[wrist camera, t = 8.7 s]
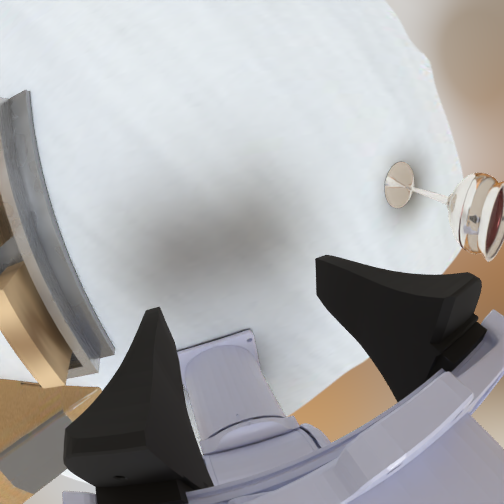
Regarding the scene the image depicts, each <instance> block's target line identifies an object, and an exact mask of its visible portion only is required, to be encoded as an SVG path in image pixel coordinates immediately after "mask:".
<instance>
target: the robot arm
mask: <svg viewBox="0 0 504 504" xmlns="http://www.w3.org/2000/svg"><path fill="white" fill-rule="evenodd" d="M315 260H316V293H317V296H318V298H319V299H320V300H321V302H322V303H323V305H324V306H325V307H326V309H327V310H328V311H329V312H330V313H331V314H332V315H333V316H334V317H335V318H336V319H337V321H338V322H339V323H340V324H341V325H342V326H343V327H344V328H345V329H346V330H347V331H348V332H349V333H350V334H351V335H352V336H353V337H354V338H355V339H356V340H357V341H358V342H359V344H360V345H361V346H362V347H363V349H364V350H365V351H366V353H367V354H368V355H369V357H370V358H371V359H372V361H373V362H374V364H375V365H376V367H377V368H378V370H379V371H380V373H381V374H382V375H383V377H384V379H385V381H386V382H387V384H388V385H389V387H390V389H391V391H392V392H393V395H394V396H395V398H396V400H397V402H398V403H397V404H395V405H394V406H392V407H391V408H389V409H388V410H386V411H385V412H383V413H382V414H380V415H379V416H377V417H376V418H374V419H372V420H371V421H369V422H368V423H366V424H364V425H363V426H361V427H359V428H357V429H356V430H354V431H352V432H350V433H349V434H347V435H345V436H343V437H341V438H340V439H338V440H336V441H334V442H332V443H331V442H330V441H329V439H328V438H327V437H326V435H325V434H324V433H323V432H322V431H321V430H319V429H318V428H315V427H313V426H312V425H310V424H306V423H305V424H302V425H299V424H298V422H297V421H296V419H295V417H294V416H290V417H286V416H285V414H284V412H283V410H282V409H281V407H280V405H279V403H278V401H277V400H276V398H275V396H274V394H273V392H272V390H271V389H270V387H269V385H268V383H267V381H266V379H265V377H264V376H263V374H262V372H261V368H260V363H259V358H258V353H257V348H256V344H255V339H254V334H253V332H252V331H251V330H246V331H243V332H240V333H237V334H234V335H231V336H228V337H225V338H222V339H219V340H215V341H212V342H209V343H206V344H202V345H199V346H196V347H192V348H189V349H185V350H182V351H178V352H177V350H176V346H175V342H174V340H173V337H172V335H171V333H170V331H169V328H168V326H167V323H166V321H165V319H164V316H163V314H162V311H161V309H160V307H157V308H153V309H150V310H146V312H145V314H144V316H143V319H142V321H141V323H140V326H139V328H138V331H137V333H136V335H135V337H134V340H133V342H132V344H131V346H130V348H129V350H128V352H127V354H126V356H125V358H124V360H123V362H122V364H121V365H120V367H119V369H118V370H117V372H116V373H115V375H114V376H113V378H112V379H111V380H110V382H109V383H108V384H107V386H106V387H105V388H104V390H103V391H102V392H101V394H100V395H99V396H98V397H97V398H96V399H95V401H94V402H93V403H92V404H91V405H90V406H89V407H88V408H87V409H86V410H85V411H84V412H83V413H82V414H81V415H80V416H79V417H78V418H77V419H75V420H74V421H73V422H72V423H71V424H70V425H69V426H67V427H66V428H65V435H64V451H63V462H64V465H65V466H66V467H67V468H68V470H70V471H71V472H72V473H73V474H75V475H76V476H78V477H80V478H81V479H83V480H85V481H86V482H88V483H90V484H92V485H93V486H95V487H96V494H93V493H88V492H72V491H63V492H62V496H63V504H504V449H503V448H502V447H501V446H500V445H499V444H498V443H497V442H496V441H495V440H494V439H493V437H491V435H489V433H488V432H486V430H484V429H483V428H482V426H481V425H479V424H478V422H476V420H475V419H474V418H472V416H471V415H472V414H473V412H474V411H475V410H476V409H477V408H478V407H479V405H480V404H481V403H482V402H483V401H484V399H485V398H486V397H487V396H488V394H489V393H490V392H491V391H492V389H493V388H494V387H495V385H496V384H497V383H498V381H499V380H500V378H501V377H502V376H503V374H504V316H503V315H501V314H499V313H498V312H497V311H495V310H492V311H491V312H490V313H489V314H488V315H487V317H486V318H485V319H484V320H483V321H482V323H481V325H480V324H479V323H478V322H476V321H477V320H478V316H476V315H475V314H474V311H475V308H476V305H477V302H478V299H479V296H480V293H481V287H482V284H481V280H480V278H478V277H476V276H475V275H473V274H471V273H468V272H466V273H457V274H447V275H423V274H410V273H402V272H395V271H390V270H385V269H381V268H376V267H372V266H368V265H364V264H361V263H357V262H354V261H350V260H347V259H343V258H339V257H335V256H330V255H325V256H322V257H319V258H316V259H315ZM249 338H250V339H249ZM247 339H249V340H247ZM182 383H183V384H182ZM183 385H184V387H185V388H186V390H187V392H188V394H189V398H190V402H191V406H192V410H193V414H194V417H195V421H196V425H197V428H198V432H199V435H200V439H201V441H200V446H201V449H202V452H203V455H204V456H202V454H201V452H200V450H199V447H198V444H197V441H196V438H195V435H194V432H193V429H192V426H191V423H190V419H189V416H188V413H187V408H186V403H185V397H184V391H183Z"/></svg>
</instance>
